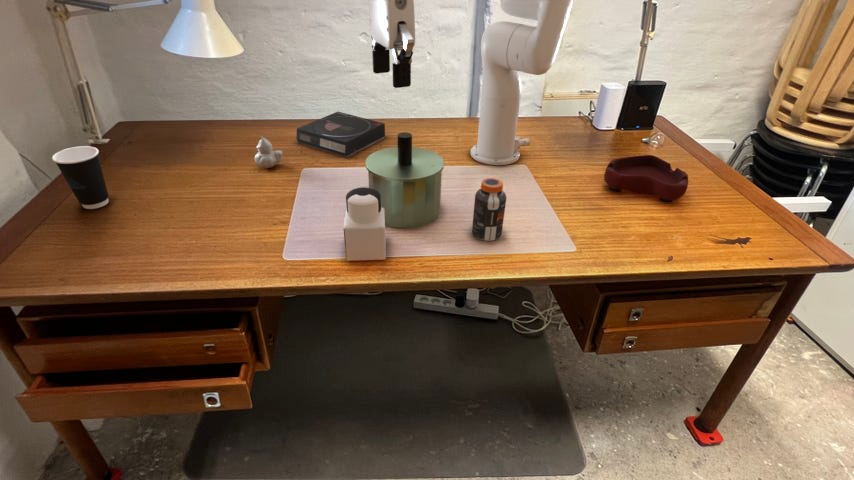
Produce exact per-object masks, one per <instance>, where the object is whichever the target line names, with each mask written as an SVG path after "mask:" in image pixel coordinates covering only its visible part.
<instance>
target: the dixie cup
mask: <svg viewBox="0 0 854 480" xmlns="http://www.w3.org/2000/svg"><path fill="white" fill-rule="evenodd" d="M99 153H100V151H99V149H98V148H97V147H94V146H90V145H89V146H88V145H84V146H83V145H81V146H80V145H79V146H72V147H69V148H64V149H62V150H59V151H57V152H56V153H54V154H53V155H52V157H51V160H52V161H53V162H54V163H55V164H56V165H57V168H58V169H59V170H60V172H61V174H62V176H63V177H64V179H65V181H66V182H67V185H68V186H69V188H70V190H71V191H72V193H73V194H74V196H75V198H76V200H77V201H78V203H79V204H81V207H83V208H84V209H87V210H93V209H99V208H102V207H104V206H107V204H108V203H109V202H110V201H109V192H108V188H107V183H106V180H105V176H104V172H103V168H102V164H101V160H100V156H99Z"/></svg>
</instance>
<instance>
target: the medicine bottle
mask: <svg viewBox="0 0 854 480" xmlns="http://www.w3.org/2000/svg"><path fill="white" fill-rule="evenodd" d="M345 205H346V209H345V210H344V219H343V220H344V221H343V236H344V237H343V239H344V251H345V260H346V261H348V262H352V261H356V262H357V261H385V260H386V258H387V251H386V250H387V247H386V246H387V244H386V243H387V242H386V241H387V240H386V226H385V210H384V208H381V195H380V193H379V192H378V191H377V190H375V189H372V188H369V187H365V186H364V187H355V188H352V189H351V190H349V191H348V192H347V193H346V195H345Z"/></svg>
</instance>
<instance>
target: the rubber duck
mask: <svg viewBox="0 0 854 480" xmlns="http://www.w3.org/2000/svg"><path fill="white" fill-rule="evenodd" d="M255 148H256V149H257V151H258V152H257V153H256V154H255V156H254V161H255V163H256V164H257V165H258V166H259V167H260V168H262V169H270V168H273V167H274V166H275V165H276V164H277V163H282V162H283V154H284V153H283V151H282V150H273V149H274V146H273V145H272V143H271V141H270V140H268V139H267V138H266V137H265V136H264V137H263V135H261V134H260V140H259V141H258V144H257V145H256V146H255Z"/></svg>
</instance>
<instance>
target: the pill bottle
mask: <svg viewBox="0 0 854 480" xmlns="http://www.w3.org/2000/svg"><path fill="white" fill-rule="evenodd" d="M480 184H481V185H480V188H479V189H478V190H477V191H476V192H475V195H474V205H473V214H472V225H471V226H472V227H471V233H472V235H473V237H475V238H476V239H478V240H481V241H486V242H491V241H496V240H498V239H501V237H502V235H503V228H504V227H503V226H504V219H505V212H506V205H507V195H506V192H505V191H504V189H503V188H504V183H503V181H502V180H500V179H498V178H496V177H486V178H484V179H482V180H481V183H480Z"/></svg>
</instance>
